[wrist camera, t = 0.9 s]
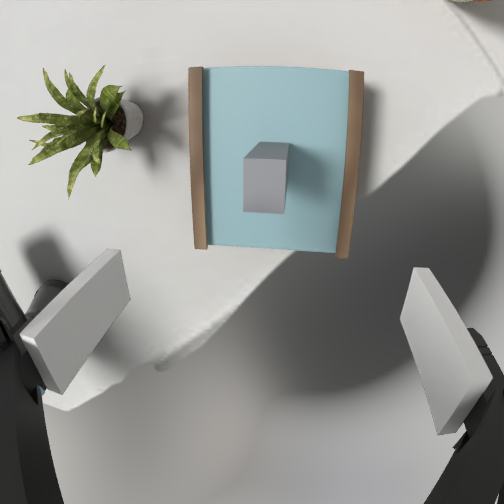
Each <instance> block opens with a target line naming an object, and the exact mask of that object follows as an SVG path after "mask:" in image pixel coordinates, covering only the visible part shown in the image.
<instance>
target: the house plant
mask: <svg viewBox="0 0 504 504" xmlns="http://www.w3.org/2000/svg"><path fill="white" fill-rule="evenodd" d="M104 66H105V65H104ZM104 66H103V67H102V68H101V69H100V71H99V72H98V73H97V74H96V75H95V77H94V78H93V79H92V81H91V83H90V85H89V87H88V90H87V98H86V97H85V96H84V95H83V93H82V92H81V91H80V89H79V88H78V86H77V85H76V84H75V83H74V81H73V78H72V76H71V74H70V72H69V78H70V80H69V78H68V75H67V72H66V70H65V81H66V84H67V87H68V90H67V93H66V99H65V98H64V96H63V95H62V94H61V93H60V92H59V91H58V89H57V88H56V87H55V86H54V85H53V84H52V82H51V81H50V80H49V77H48V75H47V72H46V71H45V70H44V68H43V73H44V80H45V83H46V86H47V89H48V91H49V93H50V94H51V96H52V97H53V98H54V100H55V101H56V102H57V103H58V104H59V105H60V106H61V107H63V108H65V109H67V110H69V111H71V112H73V113H74V114H76V115H77V116H68V115H60V114H50V113H39V114H34V115H30V116H21V117H18V119H20V120H23V121H28V122H36V123H49V124H55V125H50V126H49V125H45V126H42V127H44V128H46V129H49V130H52V131H51V132H49V133H48V134H47V135H46V136H44V137H43V138H42V139H41V140H40V141H35V140H29V141H32V142H35V143H37V144H36V145H35V147H34V148H33V149H35V148H36V147H38V146H40V145H42V146H44V148H43V149H42V151H41V152H40V153H39V154H37V155H36V156H35V157H34V158H33V159H32V161H31V162H30V164H28V165H31V164H34V163H37V162H40V161H42V160H44V159H46V158H48V157H50V156H52V155H54V154H56V153H59V152H61V151H64V150H67V149H69V148H73V147H75V146H77V145H80V144H81V143H83V142H85V141H86V145H85V146H84V148H83V149H82V151H81V152H80V153H79V155H78V156H77V157H76V159H75V161H74V163H73V164H72V167H71V169H70V171H69V182H68V188H67V191H68V195H69V197H70V194H71V191H72V188H73V185H74V182H75V180H76V177H77V175H78V173H79V172H80V171H81V170H82V169H83V168H84V167H85V166H87V165H88V164H89V163H90V162H91V168H92V171H93V173H94V175H95V177H96V175H97V173H98V172H99V171H100V168H101V163H102V154H103V152H110V151H112V150H115V149H116V148H118V149H127V150H131V149H130V148H129V145H128V140H129V139H131V138H133V137H134V136H135V135H137V134H138V133H139V132H140V130H141V128H142V125H143V118H144V116H143V112H142V110H141V109H140V107H139V106H138V105H136V104H135V103H132V102H129V101H125V100H122V99H121V98H122V96H123V93H124V92H125V91H124V92H121V93H117V92H118V90H119V88H120V87H122V86H114V85H108V86H106V87H104V88H103V89H102V91H101V95H100V97H99V98H97V99H95V100H94V96H95V92H96V86H97V82H98V80H99V78H100V76H101V74H102V72H103V69H104ZM77 99H78V100H79V101H80V102H82V103H83V104H84V105H85V106H87V108H85V107H84V106H83V105H82V104H81V103H80V102H79V101H78V100H77ZM60 135H63V136H62V137H58V138H55V139H54V140H53V141H52V142H50V143H44V142H46V141H47V140H49V139H51V138H54V137H57V136H60ZM33 149H32V150H33ZM92 149H93V150H92ZM91 151H92V152H91ZM131 151H132V150H131ZM90 153H91V154H90ZM89 154H90V155H89ZM88 156H89V157H88ZM87 157H88V158H87ZM68 199H69V198H68Z"/></svg>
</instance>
